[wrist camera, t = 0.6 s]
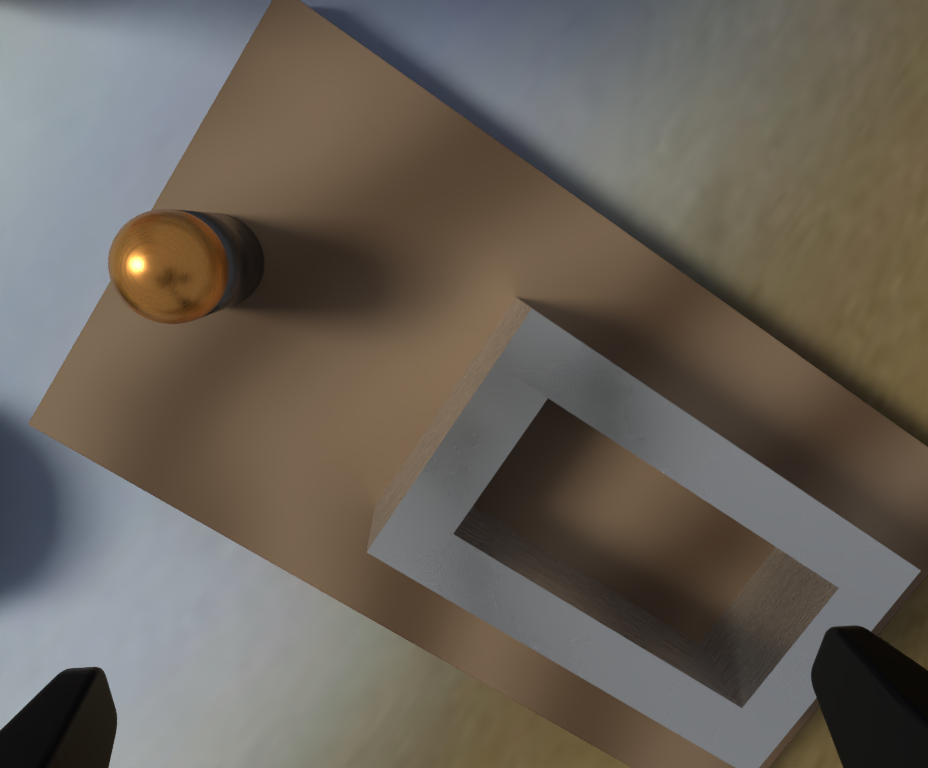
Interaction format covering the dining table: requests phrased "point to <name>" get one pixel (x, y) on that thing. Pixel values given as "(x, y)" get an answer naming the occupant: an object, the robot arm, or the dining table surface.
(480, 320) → the keeper board
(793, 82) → the dining table surface
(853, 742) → the robot arm
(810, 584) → the grey rectangular frame
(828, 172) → the dining table surface
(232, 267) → the keeper stud
